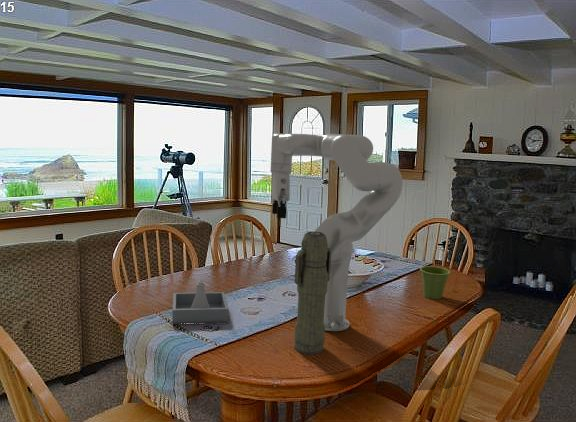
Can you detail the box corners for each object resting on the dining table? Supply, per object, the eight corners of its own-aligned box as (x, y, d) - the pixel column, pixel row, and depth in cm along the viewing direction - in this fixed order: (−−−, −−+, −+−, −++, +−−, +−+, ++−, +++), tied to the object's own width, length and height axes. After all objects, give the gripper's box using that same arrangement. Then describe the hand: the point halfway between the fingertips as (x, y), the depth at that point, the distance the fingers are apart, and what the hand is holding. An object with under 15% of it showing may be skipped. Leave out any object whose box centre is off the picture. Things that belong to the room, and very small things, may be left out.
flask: (206, 316, 175) (207, 287, 173) (186, 314, 176) (186, 285, 175) (213, 309, 182) (214, 281, 181) (193, 307, 183) (194, 279, 182)
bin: (228, 323, 172) (228, 308, 172) (172, 325, 169) (172, 310, 168) (223, 305, 190) (224, 292, 189) (173, 306, 186) (173, 292, 185)
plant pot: (412, 296, 212) (414, 269, 210) (426, 290, 220) (428, 264, 219) (439, 303, 204) (441, 275, 202) (452, 297, 212) (455, 270, 211)
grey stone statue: (283, 347, 155) (289, 232, 150) (312, 338, 163) (318, 228, 158) (304, 358, 148) (310, 237, 143) (333, 348, 156) (340, 233, 151)
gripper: (296, 170, 179) (294, 220, 181) (286, 167, 195) (284, 212, 198) (275, 170, 177) (272, 219, 180) (266, 166, 194) (264, 212, 196)
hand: (278, 215), depth 189 cm, fingers open, 9 cm apart
